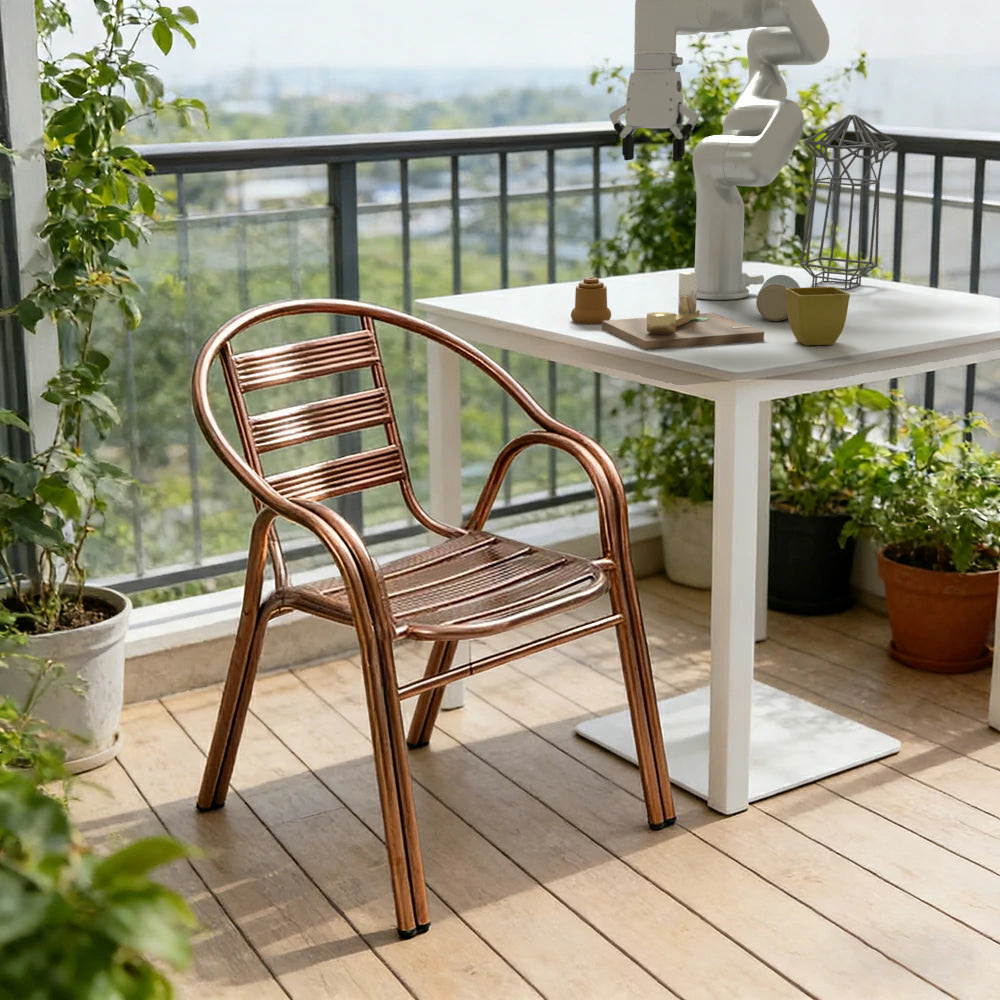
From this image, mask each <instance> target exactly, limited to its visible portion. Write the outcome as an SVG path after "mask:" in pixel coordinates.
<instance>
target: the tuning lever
mask: <svg viewBox="0 0 1000 1000" xmlns="http://www.w3.org/2000/svg"><path fill="white" fill-rule="evenodd" d="M697 299H698V298H697V273H696V272H695V271H681V272H678V303H677V304H678V305H677V307H678V308H677V310H678V311H677V312H678V313H675V312H670V311H669V312H667V311H656V312H655V311H654V312H648V313H647V314H646V318H647V332H650V333H658V334H665V333H673V332H676V327H677V326H679V325H682V324H684V323H686V322H688V321H690V320H693V319H695V318H697V317H699V314H700V309H697V304H698V303H697V301H698V300H697Z"/></svg>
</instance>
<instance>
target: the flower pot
mask: <svg viewBox="0 0 1000 1000" xmlns="http://www.w3.org/2000/svg"><path fill="white" fill-rule="evenodd" d="M838 288H839V287H836V286H823V287H811V286H810V287H809V286H808V287H806V286H805V287H800V288H786V301H787V313H788V318H787V319H788V323H789V327H790V329H791V331H792V333H793V335H794V338H795V340H796V341H797V342H799V343H800V344H802V345H804V346H806V347H807V346H808V347H810V346H825V345H826V346H831V345H834V344H835V343H836V342H837V340H838V339H839V337H840V336H841V334H842V332H843V329H844V328H845V324H846V319H847V317H848V316H847V315H848V308H849V304H850V297H851V294H850V293H849V292H847V291H845V290H840V289H838Z"/></svg>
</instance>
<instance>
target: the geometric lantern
mask: <svg viewBox="0 0 1000 1000" xmlns="http://www.w3.org/2000/svg"><path fill="white" fill-rule="evenodd" d="M851 121H852V123H853V129H854V131H855V132H854V133H855V138H856V141H853V140H847V139H845V137H846V134H847V132H848V128H849V126H850V124H851ZM870 129H871V130H870ZM872 131H873V132H875V133H877V134H878V135H880V136H881V137H883V138H884V139H886V140H887V141H881V140H880V139H879V138H877V136H876V135H875V134H874V133H873V132H872ZM826 132H827V133H826ZM822 134H825V135H823V136H822V137H821V138H820V139H819V140H817V141H815V139H816V138H818V137H819V136H820V135H822ZM840 137H841V138H840ZM860 139H861V140H860ZM833 141H835V142H837V144H838V145H832V144H831V143H832V142H833ZM866 141H867V142H866ZM875 141H876V142H875ZM801 143H802V144H804V145H805V146H806V147H807V148H808V149H809V150H810V152H811V153H812V154H813V167H812V168H813V170H812V182H813V183H812V191H811V195H810V200H809V201H810V202H809V208H808V214H807V220H806V226H805V232H804V238H803V243H802V250H801V255H800V262H799V264H800V266H801V267H802V268H803V269H804V270H805V271H806V273H808V274H809V276H811V277H812V282H811V285H810V287H811V286H812V287H824V286H821V285H820V284H823V283H822V282H824V283H832V282H834V283H835V284H844V287H837V288H838V289H841V290H842V291H848V290H849V291H850V290H852V289H854V288H857V287H859V286H861V285H862V284H861V282H862V277H864V276H865V275H866V274H867V273H869V272H870V271H872V270H873V269H875V268H878V264H879V263H878V261H879V259H878V258H879V230H880V229H879V227H880V226H879V222H880V220H879V219H880V218H879V217H880V186H881V185H880V184H881V183H880V182H881V181H880V180H881V176H882V175H881V173H882V170H883V163H884V161H885V159H886V157H887V156H889V154H890V153H891V152H892V151H893V149H894V148H895V147H896V146H897V145H898V142H897V141H896V140H894V139H893V138H891V137H889V136H888V135H886V134H885V133H883V132H882V131H880V130H879V129H877V128H876V127H874V126H872V124H870V123H868V122H867V121H866V120H864V119H862V118H861V117H859V116H858V115H857V114H847V115H846V116H844V117H843V118H841V119H840V120H838V121H835V122H834V123H832V124H831V125H829V126H827V127H826V128H824V129H822V130H820V131H818V132H817V133H815V134H814V135H811V136H810V137H807V138H806V139H804V140H803V141H801ZM845 143H846V144H850V145H846V144H845ZM818 145H819V146H820V149H819V148H818V147H817V146H818ZM823 146H824V149H823ZM828 148H830V149H836V150H837V151H836V152H837V158H829V157H828V153H827V152H828ZM865 148H870V150H869V154H868V156H865V155H862V154H861V155H860V151H862V150H863V149H865ZM852 149H854V150H852ZM887 149H888V150H887ZM840 150H846V151H848V152H849V153H847V154H846V155H844V156H842V157H841V156H840ZM886 150H887V151H886ZM872 152H873V154H872ZM881 153H882V156H881V158H879V155H880V154H881ZM851 156H853V157H852V158H851V160H850V161H849V163H848V164H847V165H846V166H845V163H844V160H846V159H848V158H850V157H851ZM817 158H819V159H823V161H824V162H825V164H824V165H823V167H822V168H821V171H820V172H819V174H818V176H817V177H816V171H817V169H816V168H817ZM856 158H860V159H865V160H867V161H868V162H869V165H870V166H869V168H868V170H867V171H866V173H865V175H864V177H863V178H853V177H851V176H850V173H849V171H848V169H849V168H850V167H851V165H852V164H853V162H854V161H855V160H856ZM873 158H874V161H873V162H872V161H871V159H873ZM831 162H835V163H836V162H839V163H840V164H841V166H842V169H843V171H842V172H841V173H840V175H839V176H838V177H837V176H836V177H835V176H834V174H833V171H832V170H831V168H830V166H829V164H828V163H831ZM878 163H879V167H878V168H879V170H878V174H876V173H875V169H874V164H878ZM826 167H827V168H828V169H827V170H828V171H829V173H830V175H831V176H827V177H822V178H820V177H821V175H822V173H823V171H824V169H825V168H826ZM871 170H872V174H873V176H874V178H875V179H866V177H868V174H869V172H870V171H871ZM845 174H846V176H847V177H843V176H844V175H845ZM877 175H878V176H877ZM825 180H830V181H825ZM843 180H845V181H849V182H850V183H845V182H842V181H843ZM834 181H838V182H834ZM854 181H857V182H859V181H860V183H854ZM863 182H866V183H863ZM819 183H820V184H829V188H828V194H827V200H826V201H827V202H826V206H825V207H826V209H825V215H824V222H823V226H822V227H823V228H822V234H821V240H820V248H819V253H818V257H816V258H813V259H810V251H811V243H812V231H813V224H814V216H815V207H816V196H817V189H818V184H819ZM833 185H837V187H838V188H837V195H836V204H835V215H834V221H833V229H832V231H833V232H832V241H831V246H830V248H831V249H830V255H829V256H830V257H822V256H823V255H822V254H823V249H824V248H823V247H824V243H825V236H826V229H827V223H828V216H829V210H830V203H831V197H832V190H833V189H832V188H833ZM869 185H875V187H874V200H873V212H872V223H871V224H872V225H871V234H870V235H871V236H870V245H869V246H870V247H869V248H870V249H869V260H867V261H866V260H861V258H862V257H861V252H862V251H861V250H862V228H863V209H864V208H863V206H864V205H863V204H864V186H869ZM842 186H851V193H850V204H849V205H850V206H849V216H848V217H849V218H848V219H849V220H848V229H847V230H848V231H847V242H846V243H847V244H846V255H845V257H846V258H845V259H844V258H836V257H834V252H835V251H834V250H835V241H836V232H837V223H838V215H839V214H838V213H839V205H840V197H841V189H842V188H841V187H842ZM855 187H860V197H859V216H858V217H859V219H858V243H857V244H858V245H857V260H855V259H850V258H849V257H850V247H851V235H852V223H853V221H852V220H853V210H854V197H855V196H854V194H855ZM874 237H875V239H874ZM874 240H875V241H874ZM874 242H875V246H874ZM806 246H807V248H806ZM874 247H875V251H874ZM805 251H806V257H805ZM873 252H874V253H875V254H874V255H875V256H874V262H873ZM804 258H805V261H804ZM817 261H818V262H819V265H818V264H811V263H814V262H817ZM822 261H828V265H826V266H825V265H823V262H822ZM832 261H833V262H842V263H845V267H844V268H841V267H834V266H831V262H832ZM849 263H854V264H857V268H849ZM861 264H864V265H865V266H864V267H863V266H862V267H861ZM810 267H811V268H817V269H822V271H821V272H819V273H816V274H815V272H813V270H812V269H811V268H810ZM826 270H827V271H826ZM830 270H831V271H830ZM865 270H866V271H865ZM836 271H837V272H836ZM864 271H865V272H864ZM851 272H854V273H851ZM825 274H827V276H825ZM830 274H831V275H843V276H845V278H844V279H843V278H838V277H830ZM821 275H822V276H821ZM848 276H851V277H850V278H849V279H848ZM818 279H822V280H821V281H819V282H818ZM854 280H855V282H854ZM819 283H820V284H819ZM834 283H833V284H834ZM817 284H818V285H817ZM847 284H849V286H848V285H847ZM814 285H815V286H814ZM852 285H853V286H852Z"/></svg>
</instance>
